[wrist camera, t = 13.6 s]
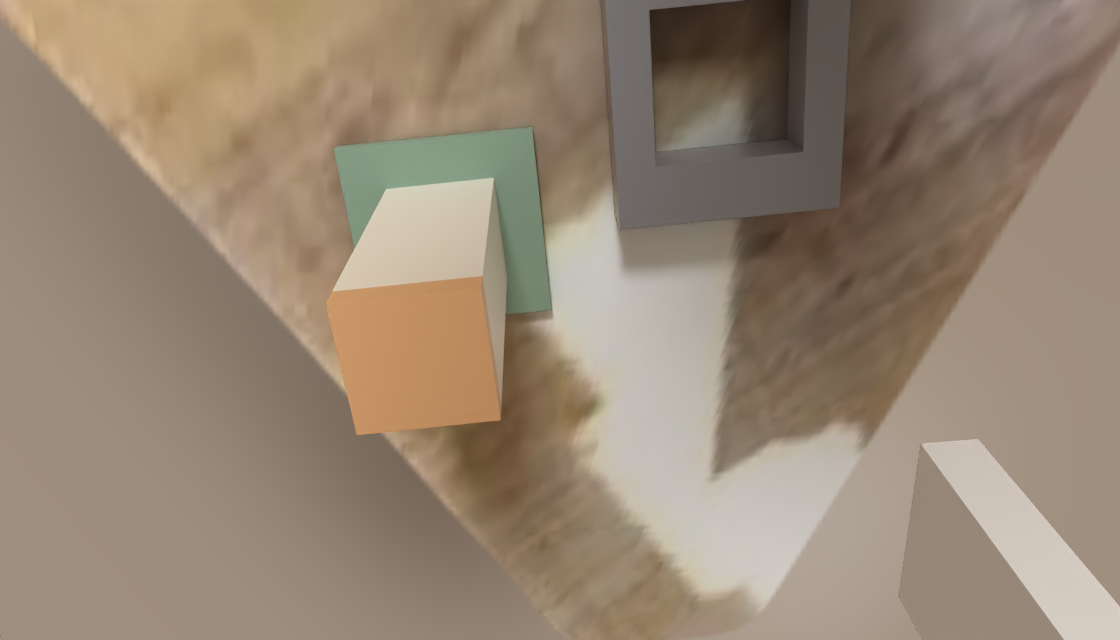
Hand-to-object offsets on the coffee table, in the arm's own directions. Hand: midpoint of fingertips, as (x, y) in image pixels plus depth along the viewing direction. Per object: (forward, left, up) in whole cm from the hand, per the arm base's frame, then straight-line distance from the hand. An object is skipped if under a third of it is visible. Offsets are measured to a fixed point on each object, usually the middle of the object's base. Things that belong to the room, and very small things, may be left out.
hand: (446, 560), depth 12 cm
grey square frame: (-1, +10, -29) cm, 31 cm away
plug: (+5, -3, -28) cm, 29 cm away
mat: (+5, -3, -29) cm, 30 cm away
